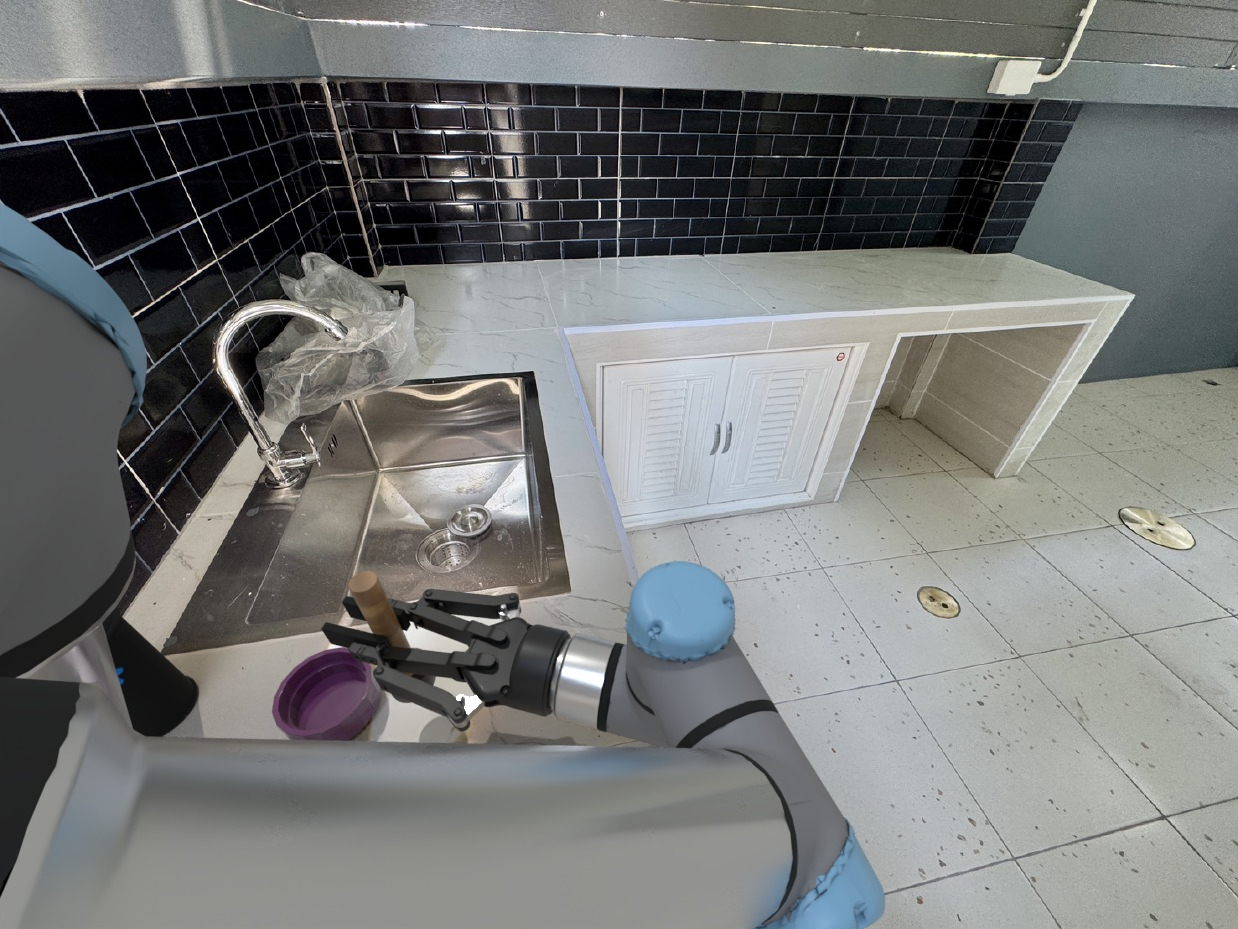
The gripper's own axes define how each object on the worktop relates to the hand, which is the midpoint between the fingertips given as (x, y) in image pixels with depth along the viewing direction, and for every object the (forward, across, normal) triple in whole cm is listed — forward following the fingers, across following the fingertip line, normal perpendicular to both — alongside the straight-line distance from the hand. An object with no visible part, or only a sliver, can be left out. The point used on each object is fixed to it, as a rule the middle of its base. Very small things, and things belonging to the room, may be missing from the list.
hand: (339, 619), depth 50 cm
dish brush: (-5, 0, -10) cm, 11 cm away
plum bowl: (+5, -2, -17) cm, 18 cm away
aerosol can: (+26, -8, -17) cm, 32 cm away
